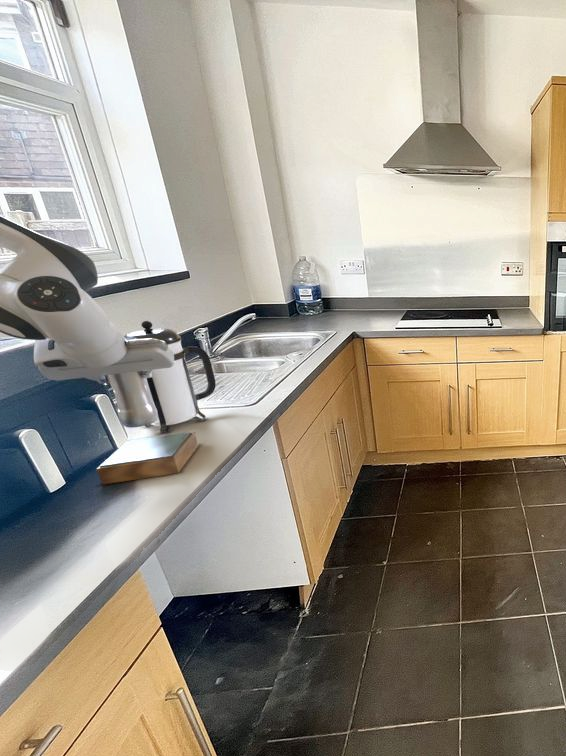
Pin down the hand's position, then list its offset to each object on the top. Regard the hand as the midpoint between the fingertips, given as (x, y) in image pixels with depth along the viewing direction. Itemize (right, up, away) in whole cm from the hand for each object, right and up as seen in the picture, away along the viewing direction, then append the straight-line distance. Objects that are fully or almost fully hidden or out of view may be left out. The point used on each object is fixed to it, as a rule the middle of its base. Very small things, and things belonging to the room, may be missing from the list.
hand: (126, 377), depth 92 cm
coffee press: (-12, -12, +30) cm, 34 cm away
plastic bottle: (0, -11, +3) cm, 12 cm away
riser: (0, -20, +7) cm, 22 cm away
